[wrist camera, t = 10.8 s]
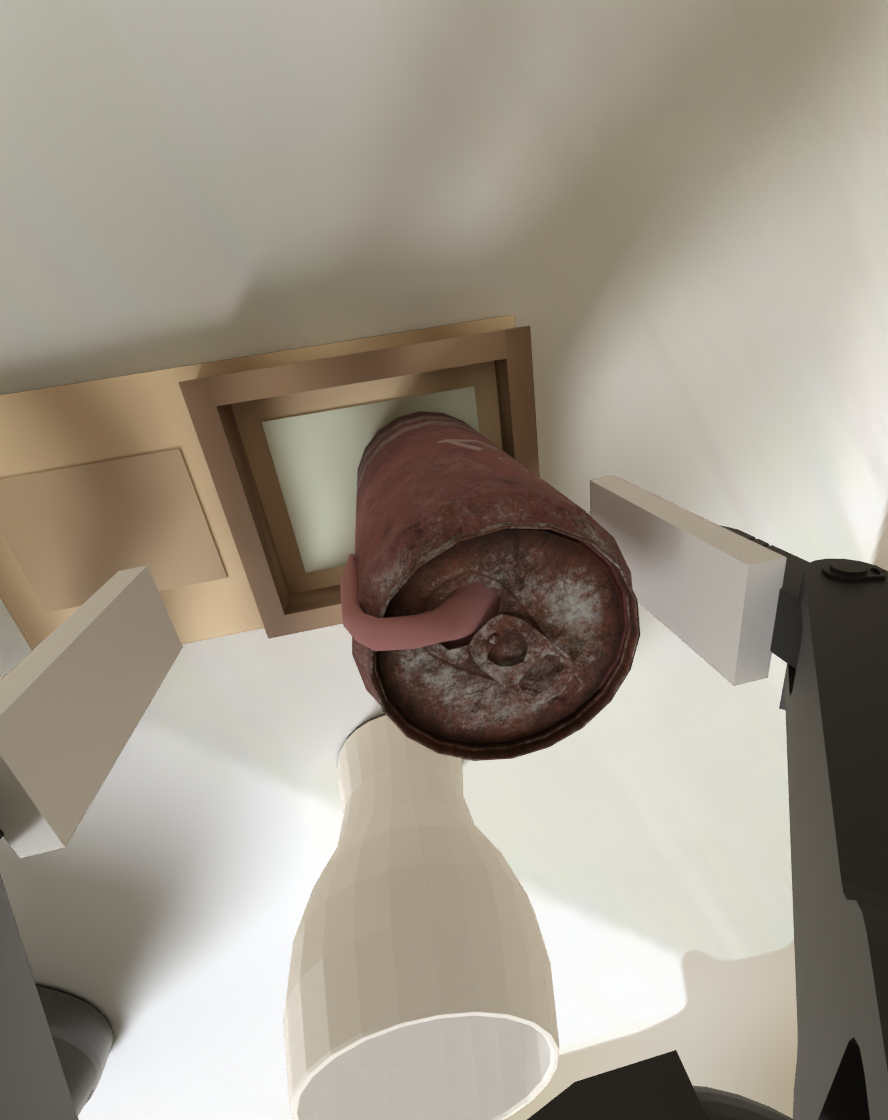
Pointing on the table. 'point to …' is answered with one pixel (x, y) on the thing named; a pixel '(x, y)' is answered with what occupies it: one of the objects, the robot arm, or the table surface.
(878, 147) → the table surface
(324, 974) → the cup
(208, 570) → the holder board
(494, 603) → the can
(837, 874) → the robot arm
